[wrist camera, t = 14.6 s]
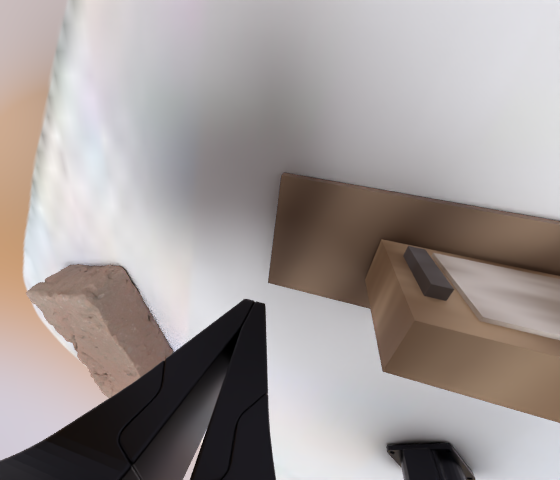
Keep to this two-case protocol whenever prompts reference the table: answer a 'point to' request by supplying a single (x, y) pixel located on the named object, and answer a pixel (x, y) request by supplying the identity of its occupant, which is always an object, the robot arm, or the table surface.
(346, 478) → the table surface
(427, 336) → the wall mounted shelf tray
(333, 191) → the wooden shelf
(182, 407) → the robot arm
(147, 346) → the brick
